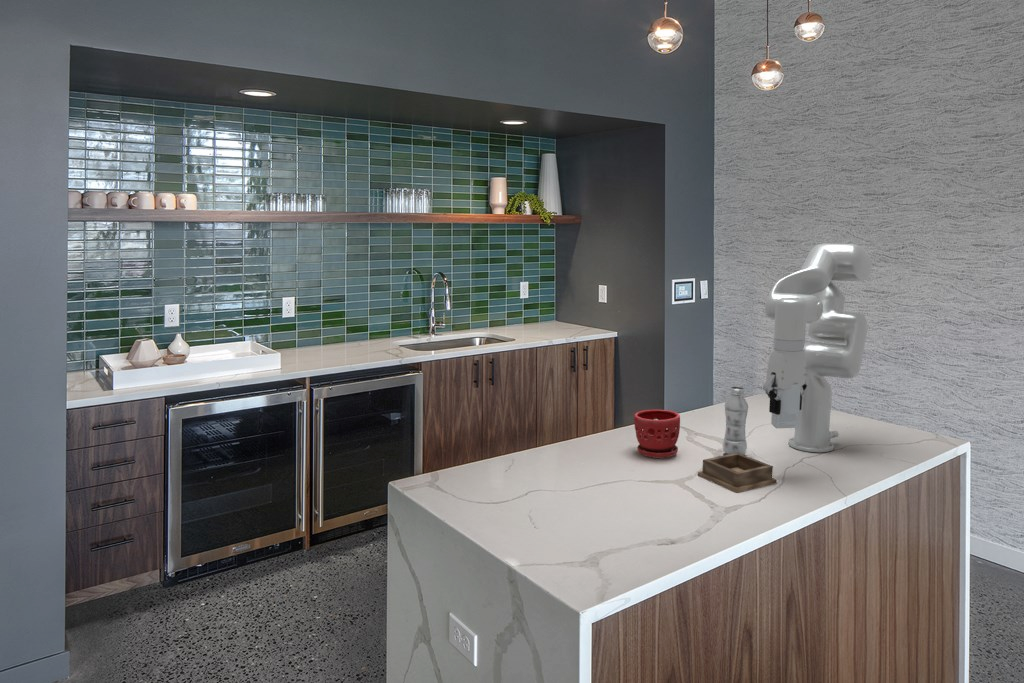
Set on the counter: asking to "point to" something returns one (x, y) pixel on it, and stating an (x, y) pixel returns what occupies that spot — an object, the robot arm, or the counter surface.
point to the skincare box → (788, 408)
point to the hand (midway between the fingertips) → (785, 410)
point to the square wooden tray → (737, 472)
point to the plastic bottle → (735, 422)
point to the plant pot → (657, 432)
